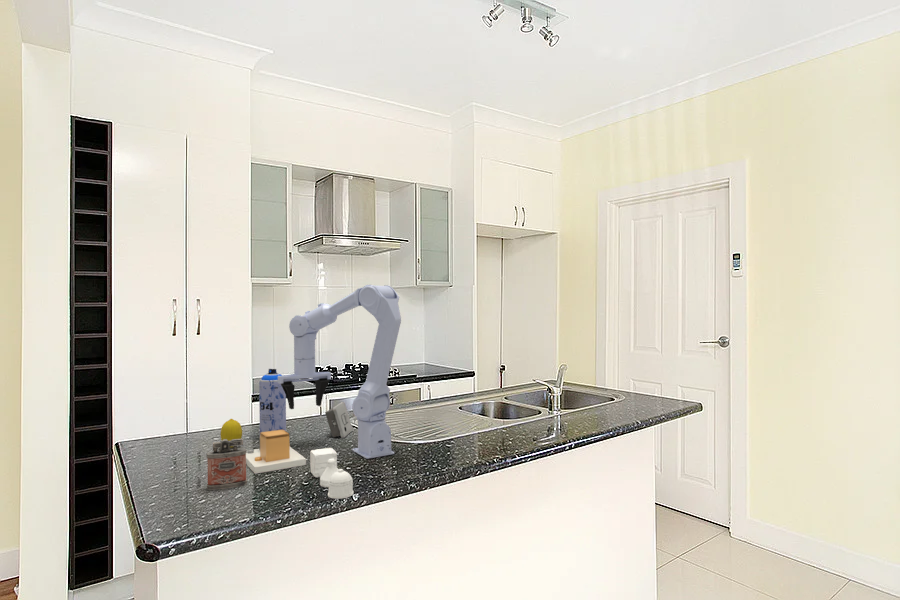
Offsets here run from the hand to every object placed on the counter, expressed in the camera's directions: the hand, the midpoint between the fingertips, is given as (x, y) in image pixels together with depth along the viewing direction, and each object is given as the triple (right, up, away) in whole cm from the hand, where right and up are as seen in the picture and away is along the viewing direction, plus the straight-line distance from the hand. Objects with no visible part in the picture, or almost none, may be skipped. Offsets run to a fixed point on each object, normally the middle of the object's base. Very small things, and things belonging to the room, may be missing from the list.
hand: (305, 407), depth 151 cm
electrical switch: (+7, -11, +11) cm, 17 cm away
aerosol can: (-12, -11, +10) cm, 19 cm away
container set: (+15, -11, -33) cm, 37 cm away
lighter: (-8, -11, -34) cm, 36 cm away
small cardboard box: (-3, -9, -18) cm, 20 cm away
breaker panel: (-4, -10, -16) cm, 19 cm away
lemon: (-19, -11, -3) cm, 22 cm away
